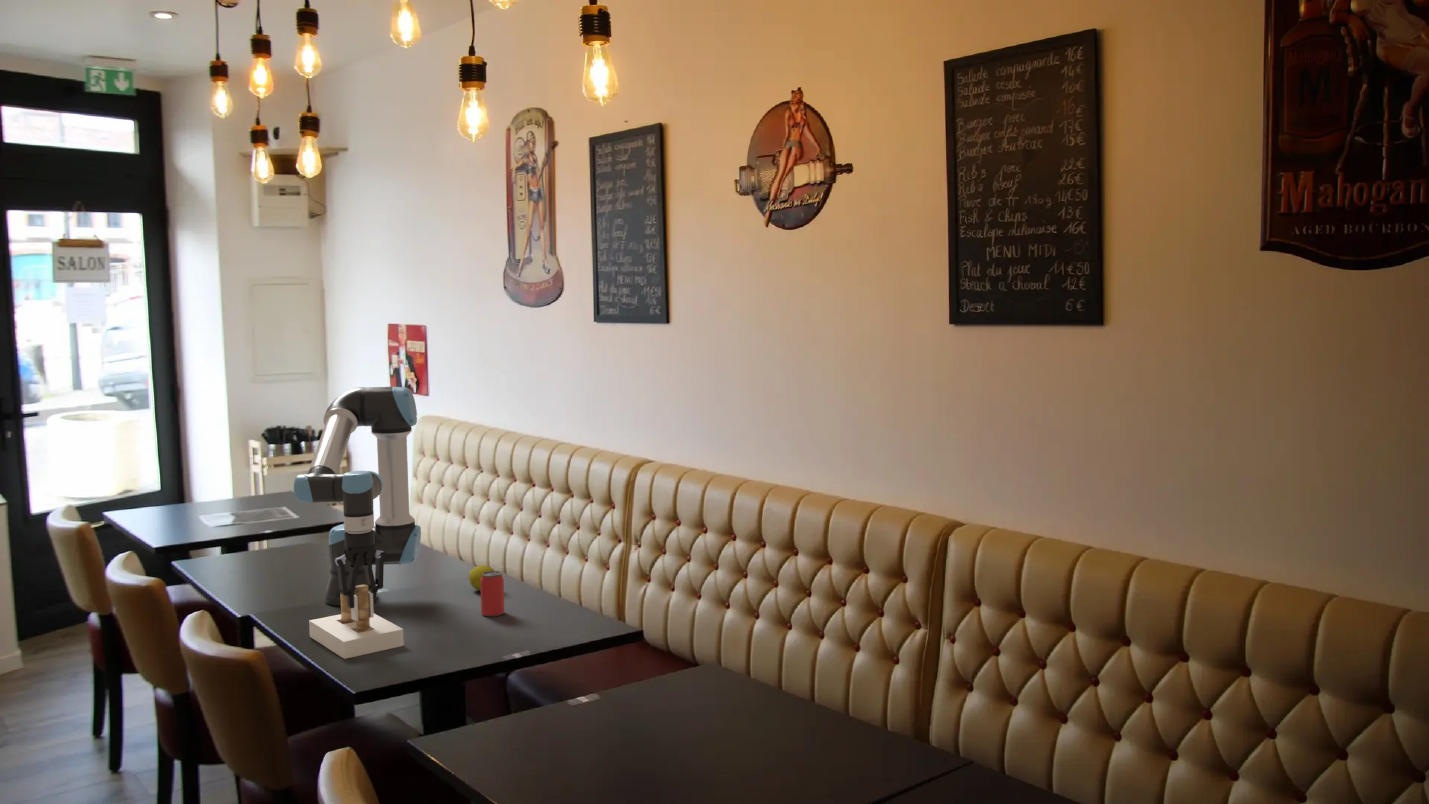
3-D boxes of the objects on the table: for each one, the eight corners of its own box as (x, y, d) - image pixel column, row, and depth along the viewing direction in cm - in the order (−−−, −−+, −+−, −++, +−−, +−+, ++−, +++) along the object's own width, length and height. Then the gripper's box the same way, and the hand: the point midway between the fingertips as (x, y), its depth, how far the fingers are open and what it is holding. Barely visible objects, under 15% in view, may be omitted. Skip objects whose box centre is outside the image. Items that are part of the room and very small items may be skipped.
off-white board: (366, 624, 308) (366, 609, 307) (403, 645, 289) (403, 629, 289) (309, 636, 297) (309, 620, 297) (344, 659, 279) (343, 641, 279)
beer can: (499, 617, 314) (498, 576, 313) (477, 616, 315) (476, 575, 314) (507, 611, 320) (506, 571, 319) (486, 610, 321) (485, 570, 320)
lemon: (503, 592, 341) (502, 566, 340) (481, 596, 336) (480, 571, 335) (485, 585, 349) (485, 560, 348) (463, 589, 344) (463, 564, 343)
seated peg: (352, 633, 300) (350, 587, 298) (357, 636, 297) (356, 590, 296) (339, 636, 297) (337, 589, 296) (344, 639, 295) (342, 592, 293)
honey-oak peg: (367, 631, 292) (365, 583, 291) (372, 634, 289) (370, 586, 288) (353, 634, 290) (352, 586, 288) (359, 637, 287) (357, 589, 285)
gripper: (333, 537, 278) (337, 627, 281) (395, 528, 289) (398, 615, 291) (322, 532, 284) (326, 620, 286) (383, 523, 295) (386, 608, 297)
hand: (362, 617), depth 289 cm, fingers closed on honey-oak peg, 3 cm apart
